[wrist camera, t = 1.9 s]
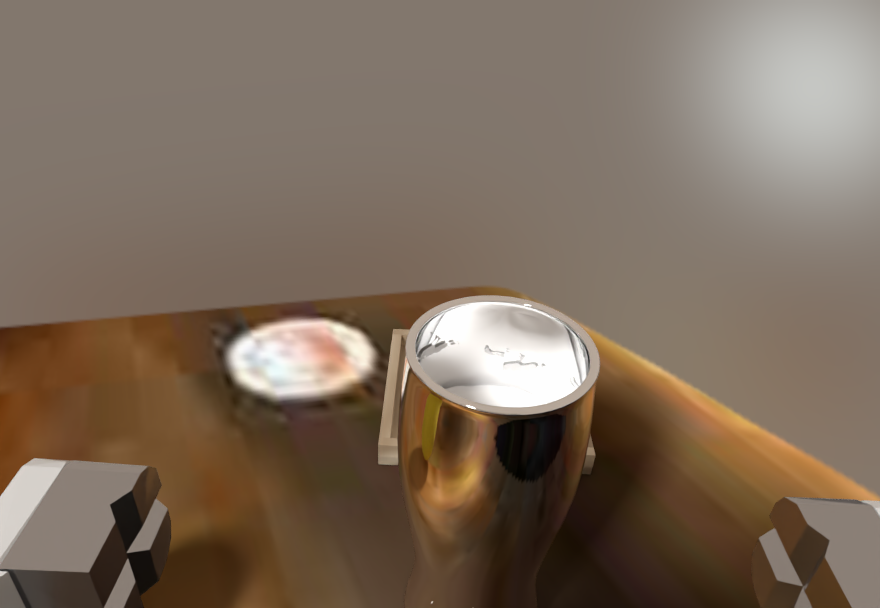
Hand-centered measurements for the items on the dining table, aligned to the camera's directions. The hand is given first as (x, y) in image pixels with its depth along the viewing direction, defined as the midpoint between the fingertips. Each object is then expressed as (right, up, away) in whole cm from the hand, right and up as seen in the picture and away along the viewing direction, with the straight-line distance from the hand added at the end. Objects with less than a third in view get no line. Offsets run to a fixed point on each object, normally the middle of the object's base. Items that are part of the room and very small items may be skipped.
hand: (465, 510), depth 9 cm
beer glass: (+1, -11, +22) cm, 25 cm away
